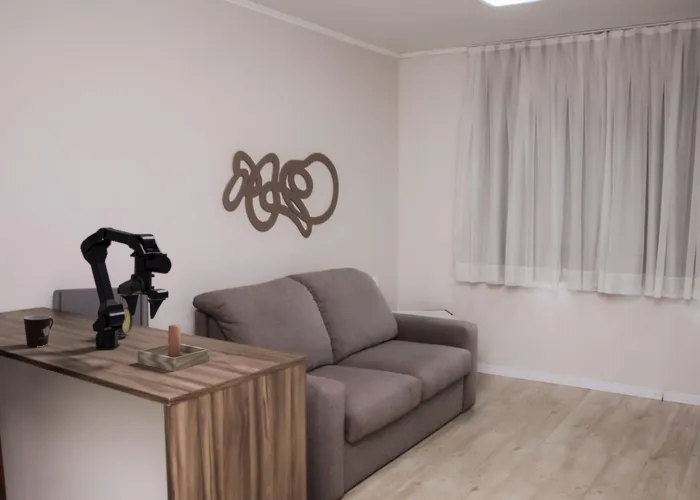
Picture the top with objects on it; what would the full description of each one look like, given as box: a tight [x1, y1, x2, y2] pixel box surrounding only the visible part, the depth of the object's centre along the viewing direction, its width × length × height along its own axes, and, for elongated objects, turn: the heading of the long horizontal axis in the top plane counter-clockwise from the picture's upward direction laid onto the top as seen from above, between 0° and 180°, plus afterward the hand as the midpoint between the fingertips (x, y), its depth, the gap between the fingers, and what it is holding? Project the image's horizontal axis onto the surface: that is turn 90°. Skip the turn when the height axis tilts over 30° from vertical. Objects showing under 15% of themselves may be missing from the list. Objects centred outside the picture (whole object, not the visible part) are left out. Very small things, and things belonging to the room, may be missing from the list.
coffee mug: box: [23, 314, 54, 348], centre depth 219 cm, size 12×9×10 cm
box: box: [137, 343, 211, 372], centre depth 204 cm, size 16×16×4 cm
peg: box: [167, 324, 182, 358], centre depth 203 cm, size 4×4×12 cm
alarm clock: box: [118, 296, 134, 341], centre depth 235 cm, size 11×5×16 cm, turn 179°
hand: (142, 317), depth 210 cm, fingers open, 9 cm apart
